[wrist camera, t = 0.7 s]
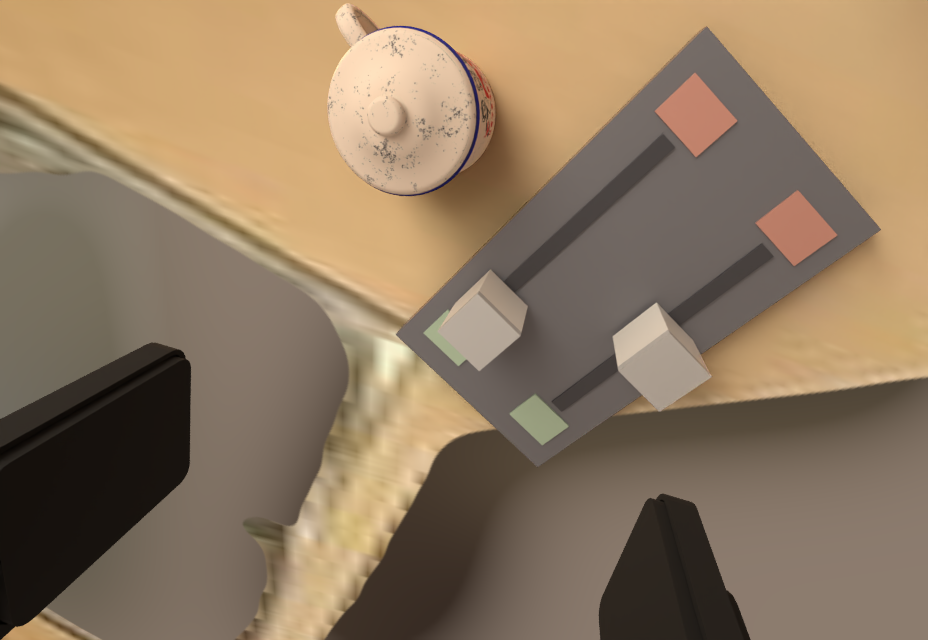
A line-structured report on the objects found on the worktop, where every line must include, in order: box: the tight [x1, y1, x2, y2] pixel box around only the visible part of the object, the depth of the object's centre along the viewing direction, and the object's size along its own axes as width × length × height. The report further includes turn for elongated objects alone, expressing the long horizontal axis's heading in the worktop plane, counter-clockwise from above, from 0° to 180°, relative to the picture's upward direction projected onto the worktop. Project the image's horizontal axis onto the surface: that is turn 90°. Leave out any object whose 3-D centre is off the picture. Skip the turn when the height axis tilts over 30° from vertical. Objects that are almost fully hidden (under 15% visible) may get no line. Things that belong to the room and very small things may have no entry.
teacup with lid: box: [328, 3, 496, 196], centre depth 31 cm, size 12×9×12 cm
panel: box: [396, 26, 881, 467], centre depth 38 cm, size 30×17×2 cm, turn 137°
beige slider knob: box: [613, 302, 712, 412], centre depth 35 cm, size 4×4×6 cm
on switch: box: [437, 269, 528, 371], centre depth 36 cm, size 4×4×6 cm
